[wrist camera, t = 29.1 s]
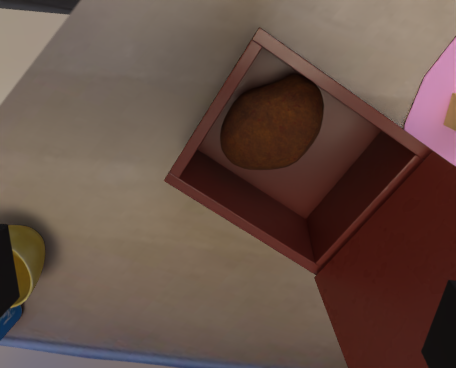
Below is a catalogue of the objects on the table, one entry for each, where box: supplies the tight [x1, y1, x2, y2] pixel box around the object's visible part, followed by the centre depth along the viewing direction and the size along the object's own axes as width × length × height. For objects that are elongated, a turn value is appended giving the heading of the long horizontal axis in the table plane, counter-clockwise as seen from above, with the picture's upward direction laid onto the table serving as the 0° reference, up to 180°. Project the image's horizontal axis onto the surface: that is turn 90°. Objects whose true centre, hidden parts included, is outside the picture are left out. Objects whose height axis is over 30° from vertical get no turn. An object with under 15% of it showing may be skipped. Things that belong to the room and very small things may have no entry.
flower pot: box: [8, 225, 45, 308], centre depth 46 cm, size 10×10×7 cm
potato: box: [220, 74, 324, 170], centre depth 34 cm, size 8×11×8 cm
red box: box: [164, 28, 433, 275], centre depth 36 cm, size 17×15×10 cm
